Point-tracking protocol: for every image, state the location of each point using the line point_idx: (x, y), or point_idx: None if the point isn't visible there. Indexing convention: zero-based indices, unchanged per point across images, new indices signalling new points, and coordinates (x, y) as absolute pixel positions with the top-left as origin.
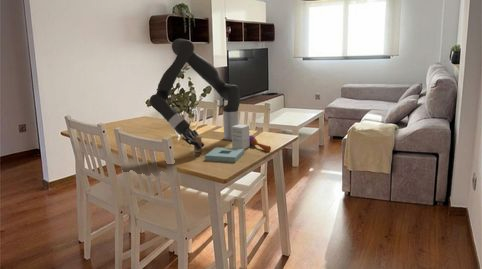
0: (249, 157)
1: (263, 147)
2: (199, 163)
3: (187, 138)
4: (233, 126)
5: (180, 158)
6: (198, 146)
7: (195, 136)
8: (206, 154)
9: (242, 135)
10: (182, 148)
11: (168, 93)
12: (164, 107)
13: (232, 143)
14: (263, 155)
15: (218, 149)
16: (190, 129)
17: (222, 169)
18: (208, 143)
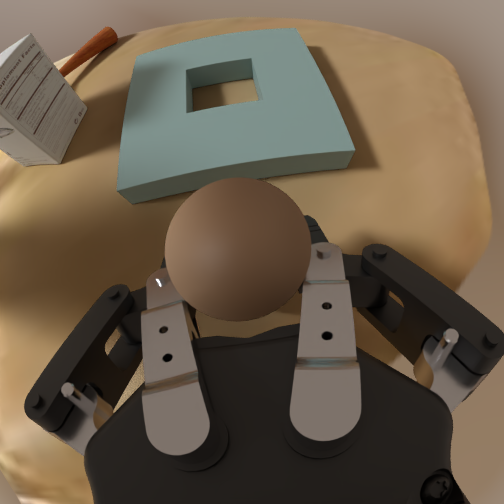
0: (202, 37)
1: (99, 44)
2: (410, 173)
3: (454, 308)
4: None
5: (383, 359)
6: (313, 220)
7: (234, 292)
8: (330, 150)
9: (50, 60)
10: None
11: None
12: None
13: (45, 148)
14: (164, 26)
15: (168, 141)
16: (111, 482)
17: (401, 65)
18: (11, 347)
